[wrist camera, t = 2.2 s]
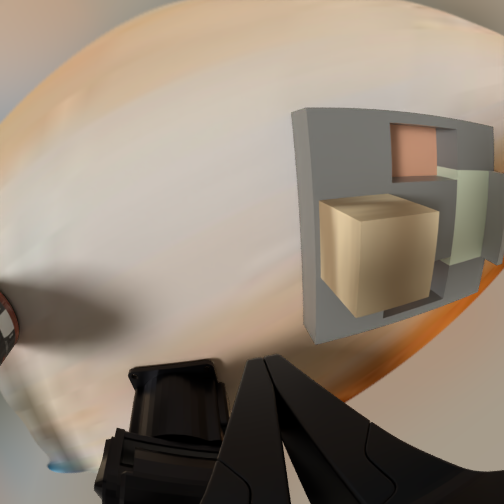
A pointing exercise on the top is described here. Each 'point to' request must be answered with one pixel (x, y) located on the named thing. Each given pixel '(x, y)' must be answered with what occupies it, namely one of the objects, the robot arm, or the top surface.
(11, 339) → the supplement bottle
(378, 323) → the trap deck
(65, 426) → the top surface
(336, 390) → the top surface
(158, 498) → the robot arm
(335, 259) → the maple block
